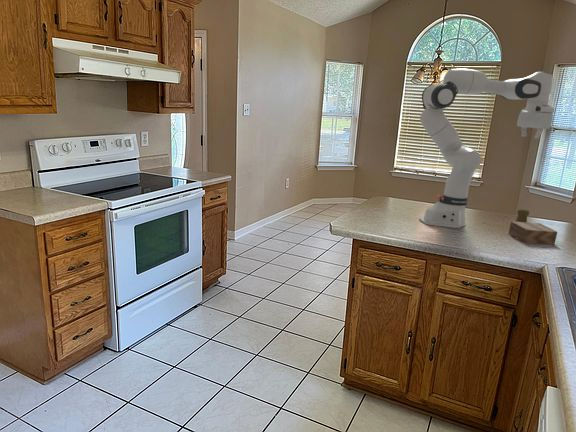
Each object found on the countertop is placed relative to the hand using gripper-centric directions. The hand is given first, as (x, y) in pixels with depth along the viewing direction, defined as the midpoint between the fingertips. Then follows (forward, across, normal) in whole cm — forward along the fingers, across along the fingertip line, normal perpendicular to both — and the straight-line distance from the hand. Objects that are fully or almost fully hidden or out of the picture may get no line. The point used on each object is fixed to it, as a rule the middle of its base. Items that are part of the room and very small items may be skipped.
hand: (530, 137), depth 204 cm
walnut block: (+46, +18, -2) cm, 49 cm away
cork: (+46, +5, +2) cm, 46 cm away
